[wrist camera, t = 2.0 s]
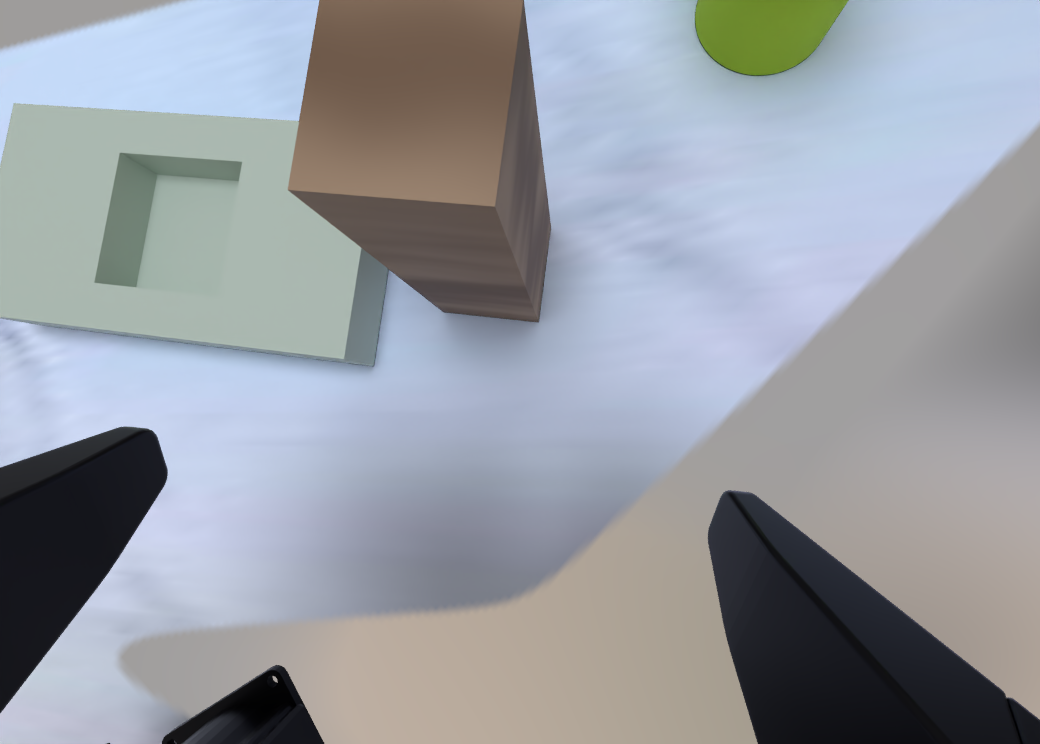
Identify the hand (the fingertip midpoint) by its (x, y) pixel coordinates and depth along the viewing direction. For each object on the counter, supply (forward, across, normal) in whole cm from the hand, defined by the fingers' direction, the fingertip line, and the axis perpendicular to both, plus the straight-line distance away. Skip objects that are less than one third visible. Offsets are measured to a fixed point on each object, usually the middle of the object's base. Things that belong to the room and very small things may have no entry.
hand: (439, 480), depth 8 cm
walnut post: (+16, 0, +1) cm, 16 cm away
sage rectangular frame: (+18, +15, +2) cm, 23 cm away
